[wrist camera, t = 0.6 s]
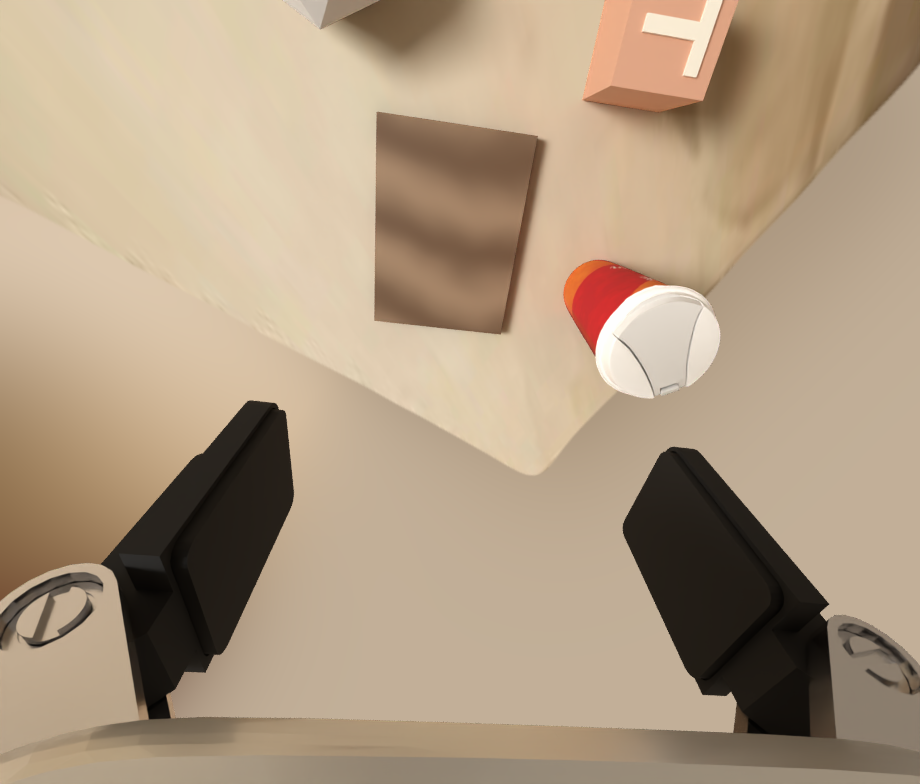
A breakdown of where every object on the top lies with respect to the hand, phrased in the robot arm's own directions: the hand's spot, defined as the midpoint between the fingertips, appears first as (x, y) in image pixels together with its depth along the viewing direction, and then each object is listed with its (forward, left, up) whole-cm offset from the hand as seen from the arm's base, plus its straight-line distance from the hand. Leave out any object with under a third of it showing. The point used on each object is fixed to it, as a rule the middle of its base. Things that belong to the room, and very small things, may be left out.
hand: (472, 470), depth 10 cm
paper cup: (+2, +13, -28) cm, 31 cm away
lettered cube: (-15, +11, -28) cm, 34 cm away
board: (-1, -1, -28) cm, 28 cm away
